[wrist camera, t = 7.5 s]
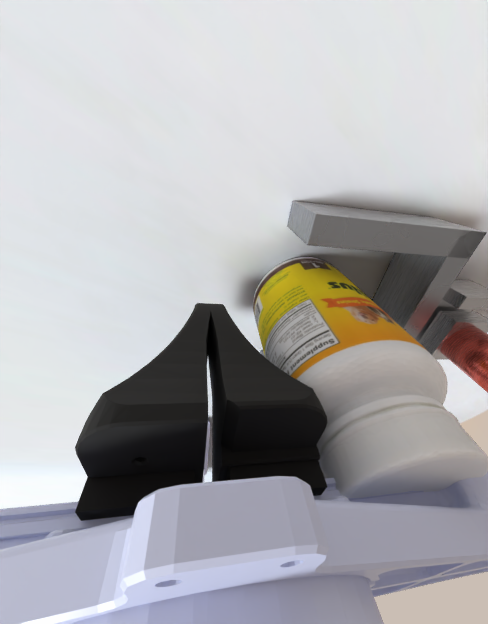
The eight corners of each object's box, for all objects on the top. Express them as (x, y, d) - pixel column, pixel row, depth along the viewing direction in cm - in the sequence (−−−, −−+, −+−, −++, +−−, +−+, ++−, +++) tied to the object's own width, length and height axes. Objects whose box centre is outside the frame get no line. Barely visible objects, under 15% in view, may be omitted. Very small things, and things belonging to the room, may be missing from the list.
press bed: (339, 394, 21) (397, 501, 14) (250, 397, 20) (271, 517, 13) (432, 217, 13) (660, 281, 6) (292, 200, 11) (402, 261, 5)
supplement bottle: (356, 292, 15) (545, 474, 6) (289, 344, 17) (367, 538, 8) (304, 230, 12) (506, 398, 4) (231, 299, 14) (261, 515, 6)
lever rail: (393, 389, 22) (412, 413, 20) (364, 390, 21) (380, 414, 19) (471, 280, 16) (509, 299, 14) (432, 278, 15) (467, 297, 13)
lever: (448, 346, 17) (531, 413, 12) (415, 347, 16) (489, 415, 12) (476, 312, 15) (582, 374, 11) (439, 310, 15) (535, 375, 10)
